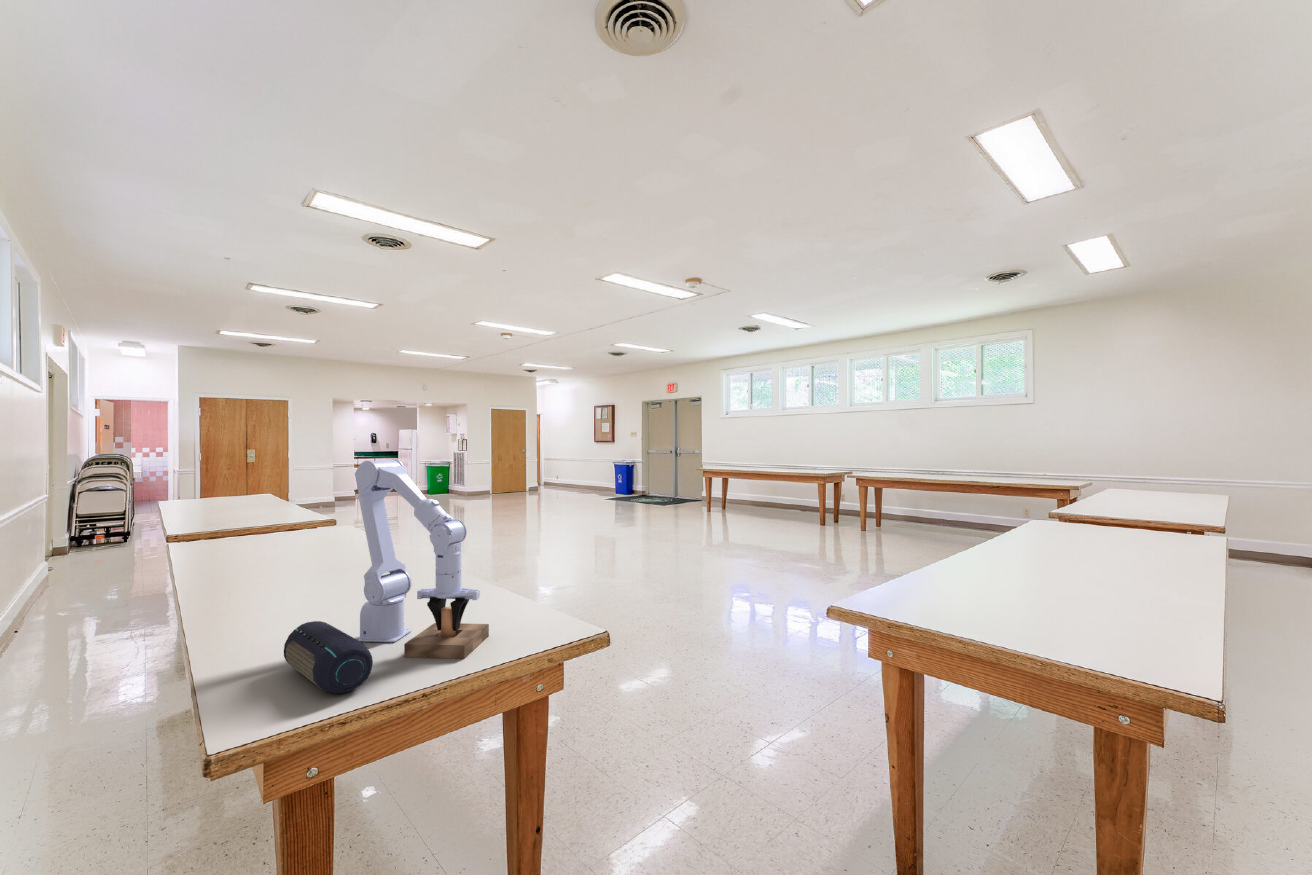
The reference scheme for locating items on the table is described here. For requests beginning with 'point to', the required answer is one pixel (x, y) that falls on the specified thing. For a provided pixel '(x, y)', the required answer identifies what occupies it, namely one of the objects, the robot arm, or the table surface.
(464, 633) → the socket block
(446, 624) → the peg
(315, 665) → the portable speaker
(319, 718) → the table surface
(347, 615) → the table surface
